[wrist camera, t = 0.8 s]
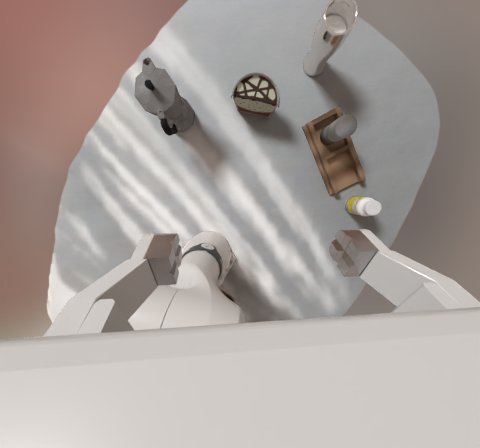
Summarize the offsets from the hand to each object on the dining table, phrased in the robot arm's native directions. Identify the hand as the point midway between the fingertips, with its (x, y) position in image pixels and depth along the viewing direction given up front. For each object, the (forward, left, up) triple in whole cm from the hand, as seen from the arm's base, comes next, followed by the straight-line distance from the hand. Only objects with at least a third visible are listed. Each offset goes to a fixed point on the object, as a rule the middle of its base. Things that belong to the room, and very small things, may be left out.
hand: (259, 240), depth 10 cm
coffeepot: (+14, +26, -51) cm, 59 cm away
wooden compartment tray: (+19, -21, -50) cm, 58 cm away
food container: (+25, +6, -51) cm, 57 cm away
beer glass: (+39, -6, -51) cm, 64 cm away
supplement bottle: (+7, -33, -51) cm, 61 cm away
